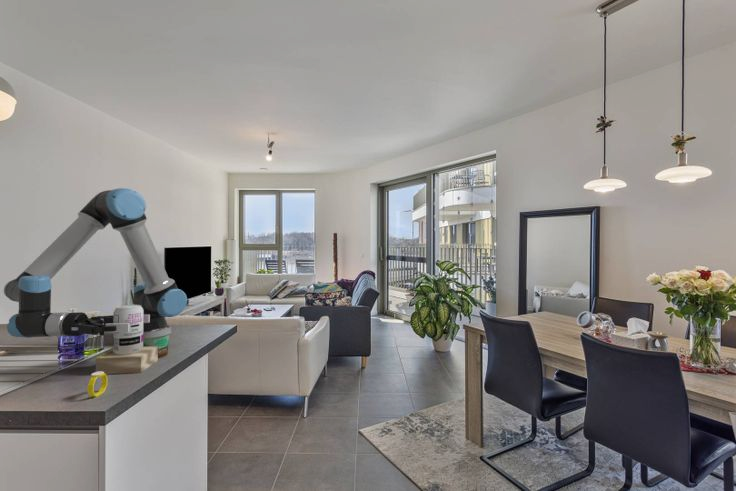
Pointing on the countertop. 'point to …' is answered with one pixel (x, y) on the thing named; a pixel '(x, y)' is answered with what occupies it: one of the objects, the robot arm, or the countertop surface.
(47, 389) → the countertop surface
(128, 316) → the supplement can
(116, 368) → the loading dock
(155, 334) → the food container
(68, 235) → the robot arm
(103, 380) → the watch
